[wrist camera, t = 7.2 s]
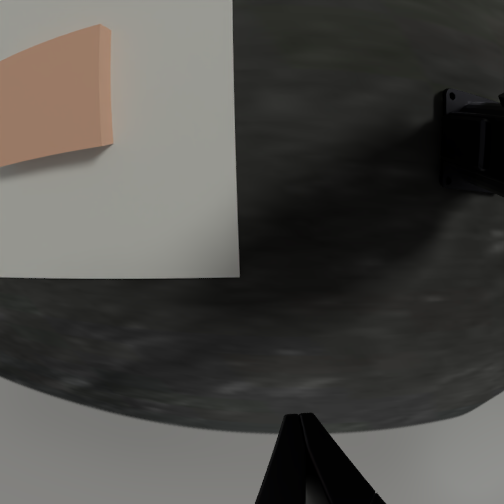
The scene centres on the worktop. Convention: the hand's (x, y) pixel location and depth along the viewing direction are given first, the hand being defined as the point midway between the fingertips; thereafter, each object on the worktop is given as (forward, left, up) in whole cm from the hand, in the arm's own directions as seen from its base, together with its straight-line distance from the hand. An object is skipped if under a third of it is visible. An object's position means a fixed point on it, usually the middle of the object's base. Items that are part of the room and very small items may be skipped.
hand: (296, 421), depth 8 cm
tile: (+9, -11, -11) cm, 18 cm away
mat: (+12, -11, -12) cm, 20 cm away
